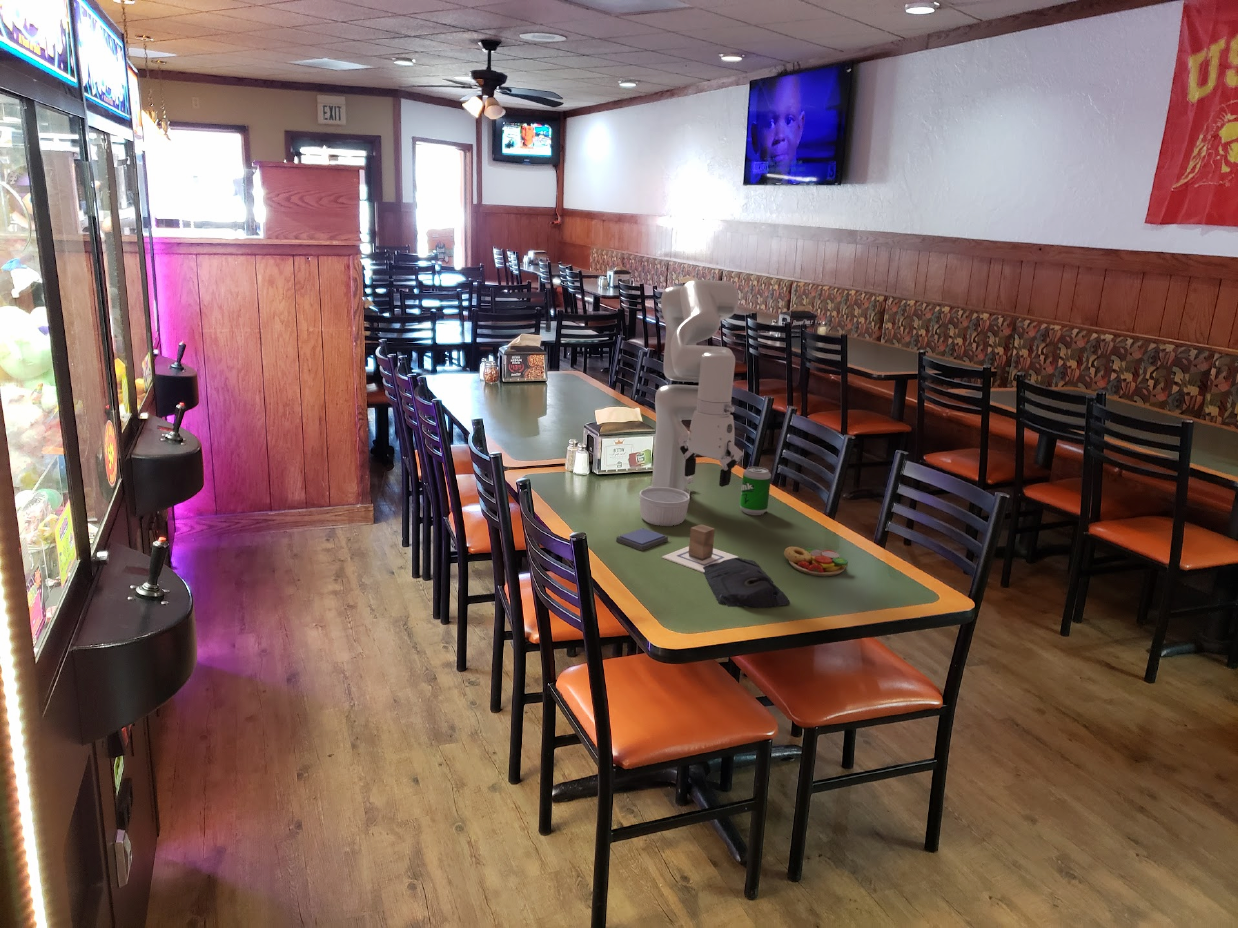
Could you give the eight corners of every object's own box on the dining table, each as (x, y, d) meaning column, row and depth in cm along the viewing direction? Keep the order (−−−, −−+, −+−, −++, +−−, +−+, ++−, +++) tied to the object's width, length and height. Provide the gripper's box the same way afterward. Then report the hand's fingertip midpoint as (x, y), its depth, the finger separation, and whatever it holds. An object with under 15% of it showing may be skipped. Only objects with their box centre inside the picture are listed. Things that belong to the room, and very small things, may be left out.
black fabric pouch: (763, 569, 203) (765, 550, 202) (792, 610, 182) (795, 589, 181) (697, 568, 201) (699, 549, 200) (720, 610, 180) (722, 588, 179)
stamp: (698, 552, 209) (700, 524, 208) (712, 556, 207) (714, 528, 205) (688, 556, 206) (690, 527, 205) (702, 561, 204) (704, 532, 202)
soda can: (766, 508, 247) (770, 467, 243) (767, 517, 239) (772, 474, 236) (738, 506, 247) (743, 464, 244) (739, 514, 240) (744, 472, 237)
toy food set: (777, 558, 210) (778, 545, 210) (825, 555, 215) (827, 542, 214) (806, 580, 198) (807, 566, 197) (856, 576, 203) (858, 563, 202)
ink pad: (642, 532, 221) (642, 526, 221) (667, 540, 216) (668, 535, 216) (616, 541, 214) (616, 535, 214) (641, 550, 209) (642, 544, 209)
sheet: (697, 543, 216) (697, 542, 216) (738, 557, 208) (738, 556, 208) (661, 557, 205) (661, 556, 205) (703, 572, 198) (704, 571, 198)
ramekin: (684, 530, 225) (686, 504, 223) (633, 524, 227) (635, 498, 225) (690, 515, 237) (692, 490, 235) (642, 509, 240) (644, 484, 238)
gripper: (755, 412, 196) (747, 486, 200) (692, 398, 206) (686, 468, 211) (736, 417, 190) (728, 492, 195) (672, 402, 201) (666, 474, 205)
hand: (706, 480), depth 203 cm, fingers open, 9 cm apart
